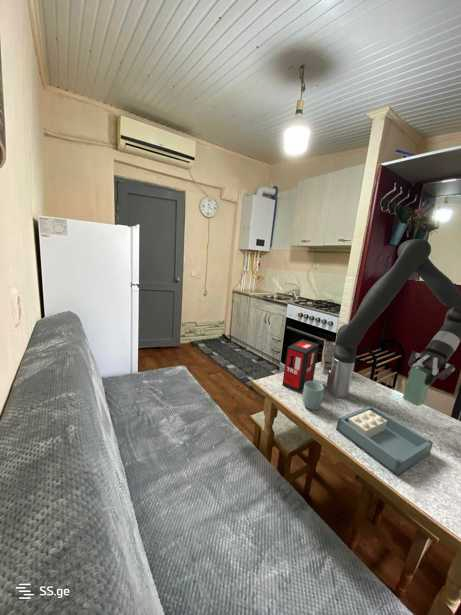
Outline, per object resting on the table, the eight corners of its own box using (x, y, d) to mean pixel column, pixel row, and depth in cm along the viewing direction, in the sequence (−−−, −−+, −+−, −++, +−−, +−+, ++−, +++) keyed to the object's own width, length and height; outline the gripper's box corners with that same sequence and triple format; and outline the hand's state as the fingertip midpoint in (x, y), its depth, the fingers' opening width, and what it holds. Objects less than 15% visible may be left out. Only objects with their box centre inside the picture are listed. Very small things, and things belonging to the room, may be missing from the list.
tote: (335, 429, 95) (338, 418, 94) (368, 416, 104) (370, 405, 103) (396, 476, 76) (400, 463, 75) (429, 454, 86) (433, 442, 85)
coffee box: (334, 375, 138) (339, 347, 134) (322, 373, 139) (327, 345, 135) (331, 368, 146) (336, 341, 143) (320, 366, 148) (324, 340, 144)
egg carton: (346, 427, 95) (349, 415, 94) (367, 418, 101) (370, 407, 100) (363, 440, 89) (366, 427, 88) (384, 430, 95) (388, 417, 94)
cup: (311, 414, 103) (315, 392, 100) (297, 404, 109) (300, 383, 107) (324, 409, 107) (328, 388, 104) (309, 399, 113) (313, 379, 111)
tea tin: (402, 398, 96) (411, 367, 93) (409, 395, 98) (418, 365, 95) (417, 406, 92) (426, 373, 89) (424, 402, 94) (433, 371, 91)
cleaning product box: (299, 393, 118) (305, 353, 113) (282, 385, 123) (287, 347, 118) (313, 380, 130) (319, 344, 126) (296, 374, 136) (302, 339, 131)
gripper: (419, 333, 100) (395, 366, 97) (465, 347, 88) (439, 385, 84) (422, 344, 103) (399, 376, 100) (467, 359, 91) (442, 395, 88)
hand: (418, 380), depth 92 cm, fingers closed on tea tin, 5 cm apart
